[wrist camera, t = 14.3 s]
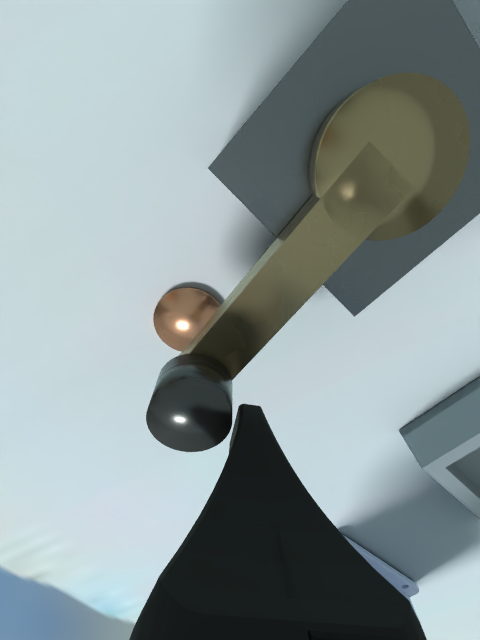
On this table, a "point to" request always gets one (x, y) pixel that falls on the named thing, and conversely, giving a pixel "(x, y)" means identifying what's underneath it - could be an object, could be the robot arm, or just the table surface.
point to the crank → (321, 239)
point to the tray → (451, 444)
